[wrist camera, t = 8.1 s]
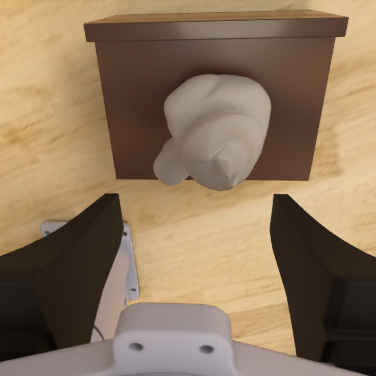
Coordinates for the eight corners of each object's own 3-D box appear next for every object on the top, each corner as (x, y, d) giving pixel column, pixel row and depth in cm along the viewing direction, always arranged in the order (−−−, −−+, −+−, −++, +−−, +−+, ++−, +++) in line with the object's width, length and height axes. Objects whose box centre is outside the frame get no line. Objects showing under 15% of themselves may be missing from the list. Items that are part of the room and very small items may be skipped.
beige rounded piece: (286, 119, 18) (332, 197, 11) (194, 182, 21) (186, 277, 14) (229, 36, 16) (241, 70, 9) (134, 117, 19) (89, 190, 12)
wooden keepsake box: (291, 147, 24) (314, 191, 19) (132, 147, 25) (111, 189, 20) (312, 10, 20) (349, 17, 14) (116, 15, 21) (82, 23, 15)
